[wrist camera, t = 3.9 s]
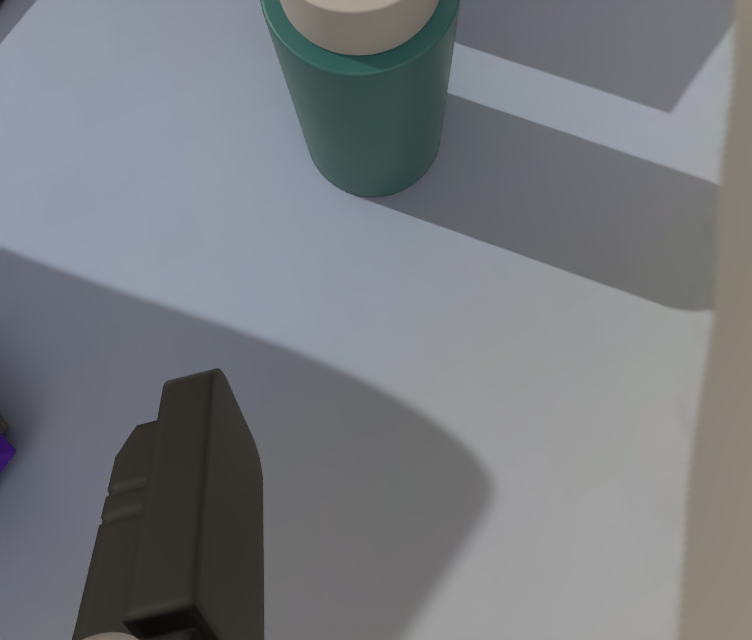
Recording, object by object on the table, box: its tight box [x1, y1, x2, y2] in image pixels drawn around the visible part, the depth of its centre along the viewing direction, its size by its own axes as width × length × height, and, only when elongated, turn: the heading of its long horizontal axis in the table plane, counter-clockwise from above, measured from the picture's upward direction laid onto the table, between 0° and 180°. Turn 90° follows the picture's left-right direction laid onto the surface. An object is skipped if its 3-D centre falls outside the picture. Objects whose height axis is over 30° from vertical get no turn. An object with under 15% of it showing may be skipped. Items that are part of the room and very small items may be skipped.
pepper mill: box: [260, 0, 460, 197], centre depth 20 cm, size 5×5×12 cm
